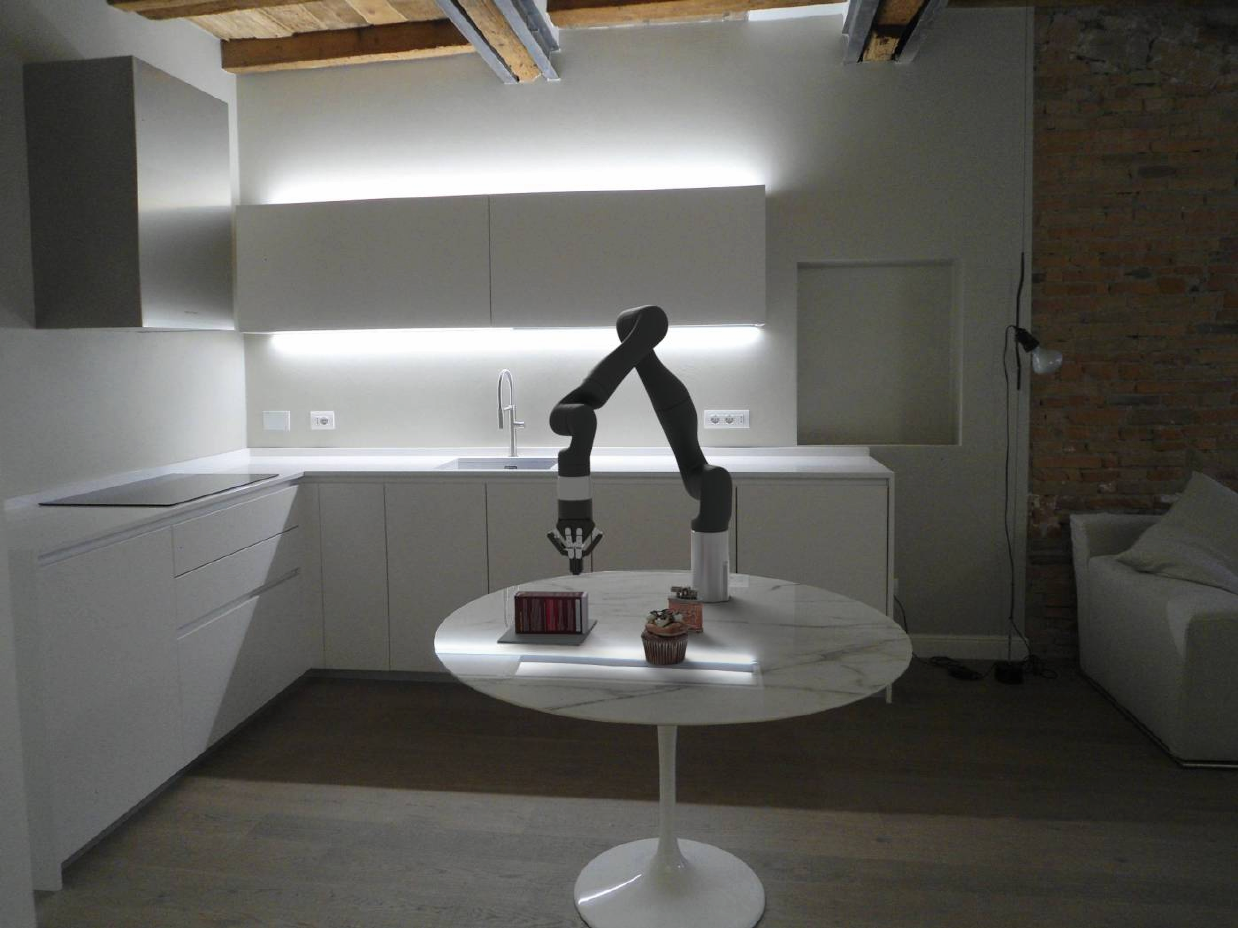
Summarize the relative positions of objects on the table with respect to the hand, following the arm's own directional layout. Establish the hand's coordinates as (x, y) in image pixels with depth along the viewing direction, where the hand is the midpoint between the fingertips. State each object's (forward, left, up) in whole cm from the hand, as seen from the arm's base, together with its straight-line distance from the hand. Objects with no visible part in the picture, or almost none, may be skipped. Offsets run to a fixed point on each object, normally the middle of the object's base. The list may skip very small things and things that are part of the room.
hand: (576, 574), depth 204 cm
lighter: (-23, -4, -13) cm, 27 cm away
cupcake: (-21, +15, -13) cm, 29 cm away
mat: (+7, 0, -13) cm, 15 cm away
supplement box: (-2, 0, -9) cm, 9 cm away
